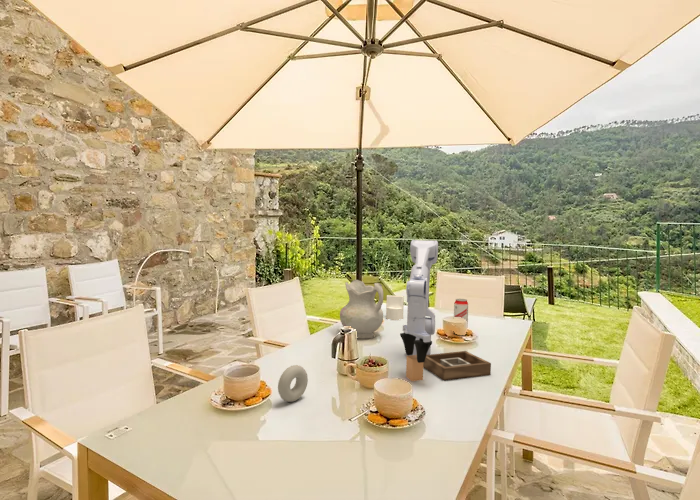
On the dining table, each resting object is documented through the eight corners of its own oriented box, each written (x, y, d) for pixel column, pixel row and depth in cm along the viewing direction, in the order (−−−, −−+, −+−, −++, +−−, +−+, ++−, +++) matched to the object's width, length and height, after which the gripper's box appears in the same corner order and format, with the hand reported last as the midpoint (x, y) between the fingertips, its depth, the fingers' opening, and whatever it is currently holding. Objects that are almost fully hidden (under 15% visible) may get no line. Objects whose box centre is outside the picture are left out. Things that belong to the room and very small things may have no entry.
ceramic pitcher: (394, 337, 185) (397, 282, 186) (373, 344, 169) (376, 283, 169) (353, 330, 197) (356, 278, 197) (330, 336, 180) (333, 279, 181)
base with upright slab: (385, 319, 215) (385, 297, 215) (386, 316, 224) (387, 294, 223) (402, 320, 214) (403, 297, 213) (403, 317, 223) (404, 295, 222)
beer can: (467, 336, 186) (469, 301, 185) (453, 335, 187) (454, 300, 186) (466, 333, 192) (467, 298, 191) (452, 332, 193) (453, 298, 192)
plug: (406, 376, 135) (406, 355, 135) (416, 375, 137) (417, 354, 136) (411, 381, 131) (412, 359, 131) (423, 379, 133) (423, 358, 132)
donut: (283, 408, 110) (283, 372, 110) (274, 404, 112) (275, 368, 112) (310, 397, 118) (310, 362, 117) (301, 393, 120) (302, 360, 119)
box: (421, 366, 145) (422, 355, 145) (465, 361, 151) (465, 350, 151) (444, 381, 132) (444, 368, 132) (490, 374, 138) (491, 363, 138)
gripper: (394, 312, 138) (393, 352, 139) (416, 322, 125) (415, 366, 125) (413, 311, 141) (412, 351, 141) (436, 321, 127) (435, 364, 128)
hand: (415, 358), depth 133 cm, fingers open, 7 cm apart
